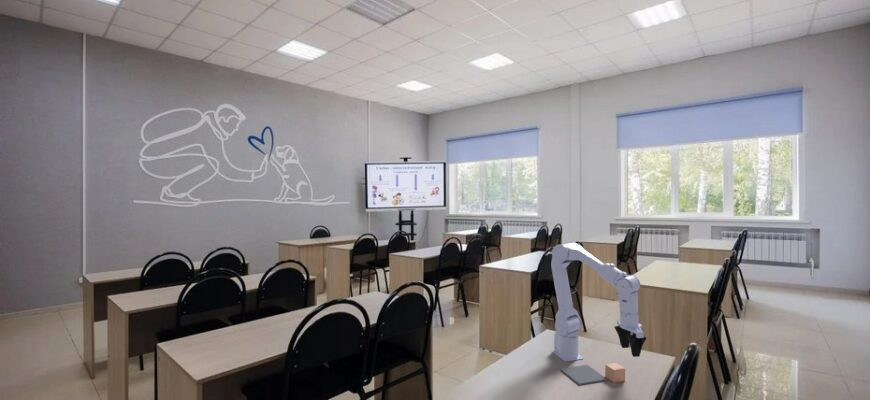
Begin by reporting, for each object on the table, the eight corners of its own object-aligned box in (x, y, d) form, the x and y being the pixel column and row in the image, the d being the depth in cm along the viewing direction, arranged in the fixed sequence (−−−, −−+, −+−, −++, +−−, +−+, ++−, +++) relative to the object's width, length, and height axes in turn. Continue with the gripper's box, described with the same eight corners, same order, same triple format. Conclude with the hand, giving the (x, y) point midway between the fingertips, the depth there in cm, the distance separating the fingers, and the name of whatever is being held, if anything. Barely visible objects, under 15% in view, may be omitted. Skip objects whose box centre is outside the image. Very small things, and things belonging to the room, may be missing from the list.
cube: (605, 376, 139) (605, 364, 139) (616, 375, 140) (616, 362, 140) (614, 382, 134) (614, 370, 134) (625, 381, 136) (625, 368, 135)
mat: (560, 370, 144) (560, 368, 144) (587, 366, 146) (587, 364, 146) (579, 385, 133) (579, 383, 133) (607, 380, 136) (607, 378, 136)
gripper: (652, 317, 128) (653, 360, 128) (630, 305, 143) (631, 343, 143) (630, 318, 128) (631, 360, 128) (610, 306, 143) (612, 344, 143)
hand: (630, 351), depth 136 cm, fingers open, 7 cm apart
